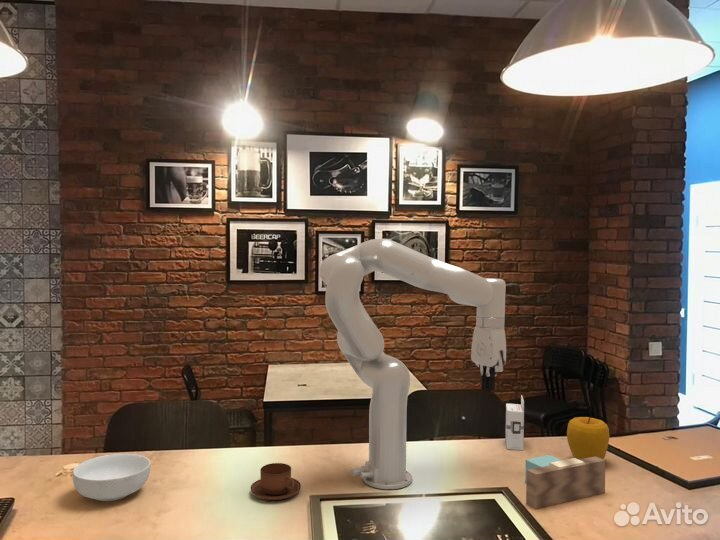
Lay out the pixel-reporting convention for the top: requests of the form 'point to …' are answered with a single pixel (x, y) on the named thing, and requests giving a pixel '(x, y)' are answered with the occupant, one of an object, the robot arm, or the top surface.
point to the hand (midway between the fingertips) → (487, 390)
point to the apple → (587, 437)
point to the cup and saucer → (275, 482)
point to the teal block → (539, 463)
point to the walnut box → (565, 481)
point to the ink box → (515, 425)
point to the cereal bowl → (111, 476)
